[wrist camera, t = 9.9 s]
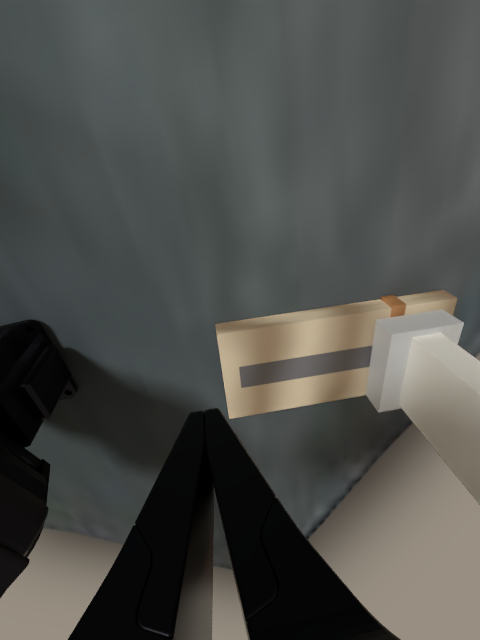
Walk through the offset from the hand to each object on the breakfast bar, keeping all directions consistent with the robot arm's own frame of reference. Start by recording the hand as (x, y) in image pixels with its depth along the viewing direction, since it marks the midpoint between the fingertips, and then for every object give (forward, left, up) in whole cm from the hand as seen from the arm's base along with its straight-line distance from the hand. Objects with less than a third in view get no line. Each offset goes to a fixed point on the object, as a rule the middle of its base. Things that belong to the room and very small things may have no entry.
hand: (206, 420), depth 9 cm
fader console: (+9, -9, -13) cm, 18 cm away
